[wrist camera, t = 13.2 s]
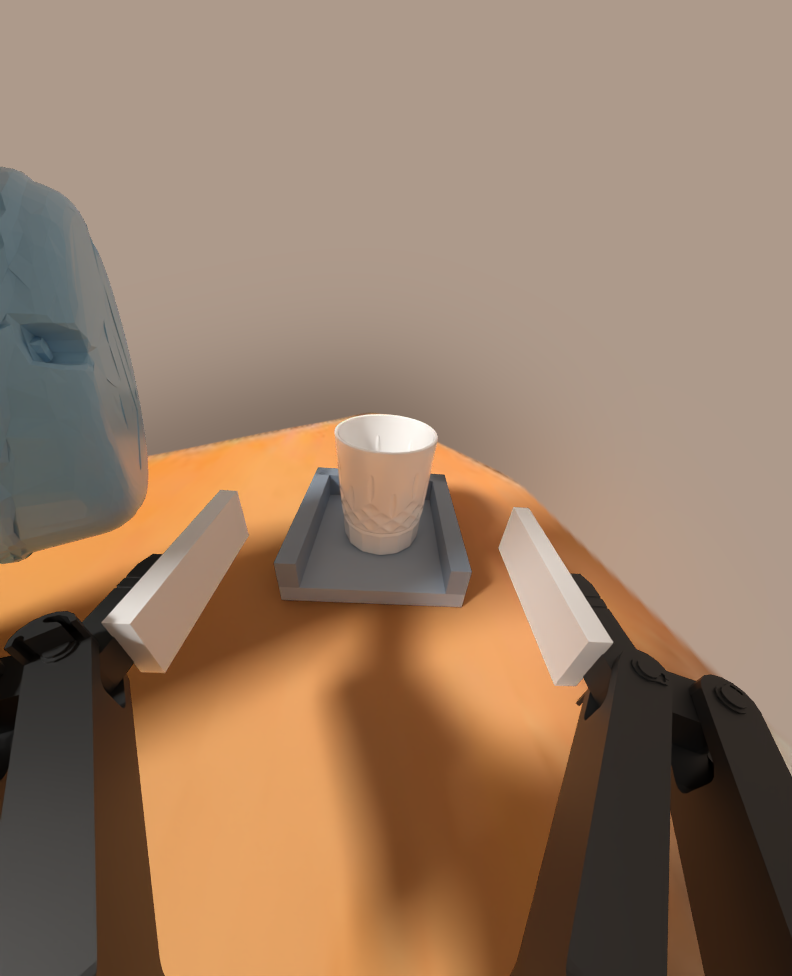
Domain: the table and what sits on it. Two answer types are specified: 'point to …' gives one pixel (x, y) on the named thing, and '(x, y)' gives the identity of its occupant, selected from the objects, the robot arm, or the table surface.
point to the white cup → (383, 479)
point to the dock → (365, 576)
